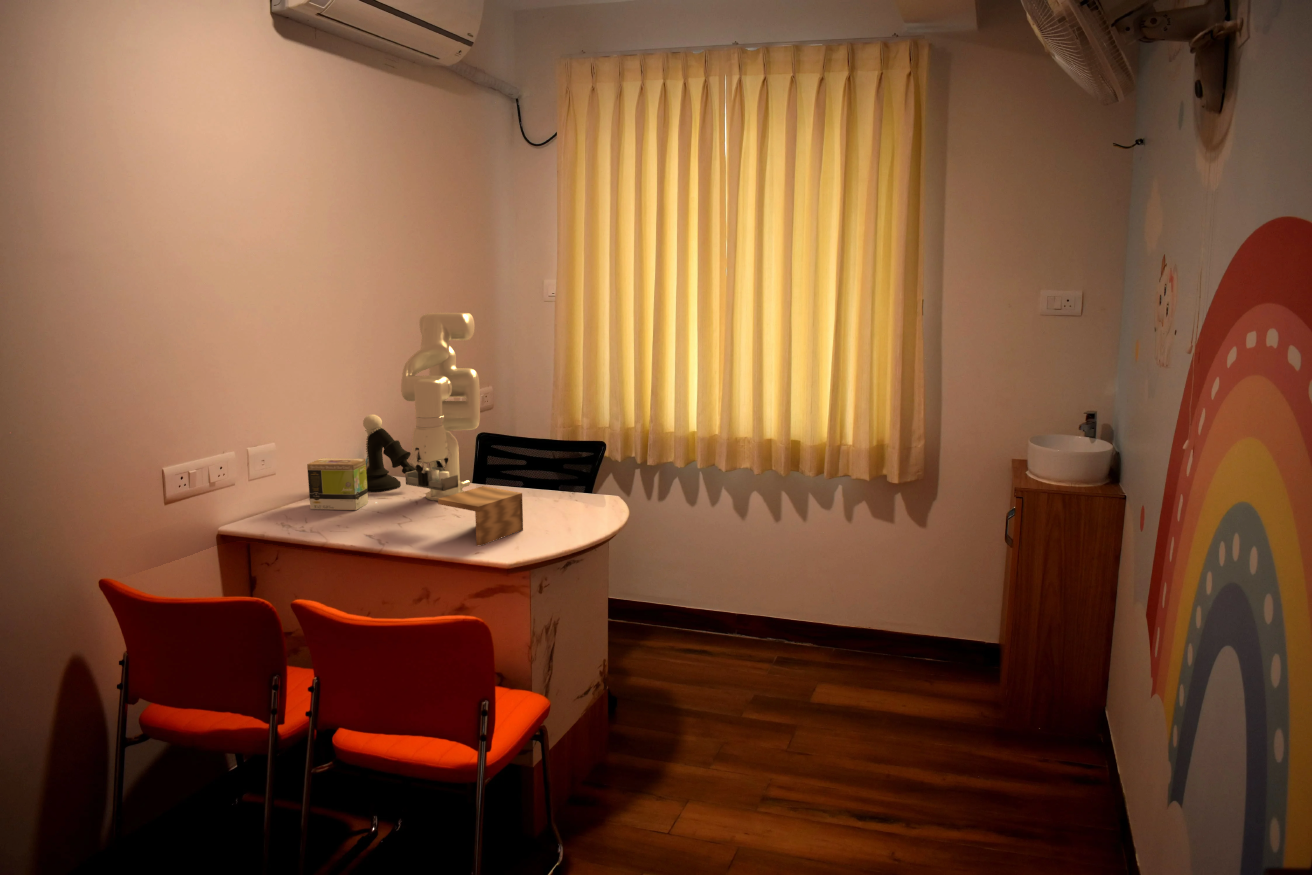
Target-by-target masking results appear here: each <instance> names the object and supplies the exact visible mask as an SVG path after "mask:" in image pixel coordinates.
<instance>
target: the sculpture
mask: <svg viewBox="0 0 1312 875" xmlns="http://www.w3.org/2000/svg"><path fill="white" fill-rule="evenodd" d="M362 425H363V427H364V429H365V432H366V433H367V436H366V444H365V445H366V446H365V447H366V448H365V450H366V455H367V456H366V457H367V462H366V475H367V489H368V493H383V492H388V491H393V490H396V489H399V488H400V487H401V481H400V480H399V479H398V478H396V476H392V475H390V474H389V473H390V471H389V470H387V469H386V468H385V465H384V458H383V455H384V456H386V457H387V458H389V460H390V462H391V465H392V466H391V467H392V468H393V469H396V468H399V467H402V469H401V473H402V474H405V473H406V472H411V471H415V469H414V468H413V466H412V465H410V463H409V461H408V460H409V459H410V457H411V456H412V452H410V451H407V450H405V449H404V448H403V446H402V445H401V443H400V442H401V441H400V440H398V439H397V440H395V439H394V438H393V436H392V435H391V434H390V433H389V432H387V430H386V429H385V428H384V427H382V425H383V420H382V418H381V417H380V416H379V415H377V414H368V415H367V416H365V417H364V419H363V421H362Z"/></svg>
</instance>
